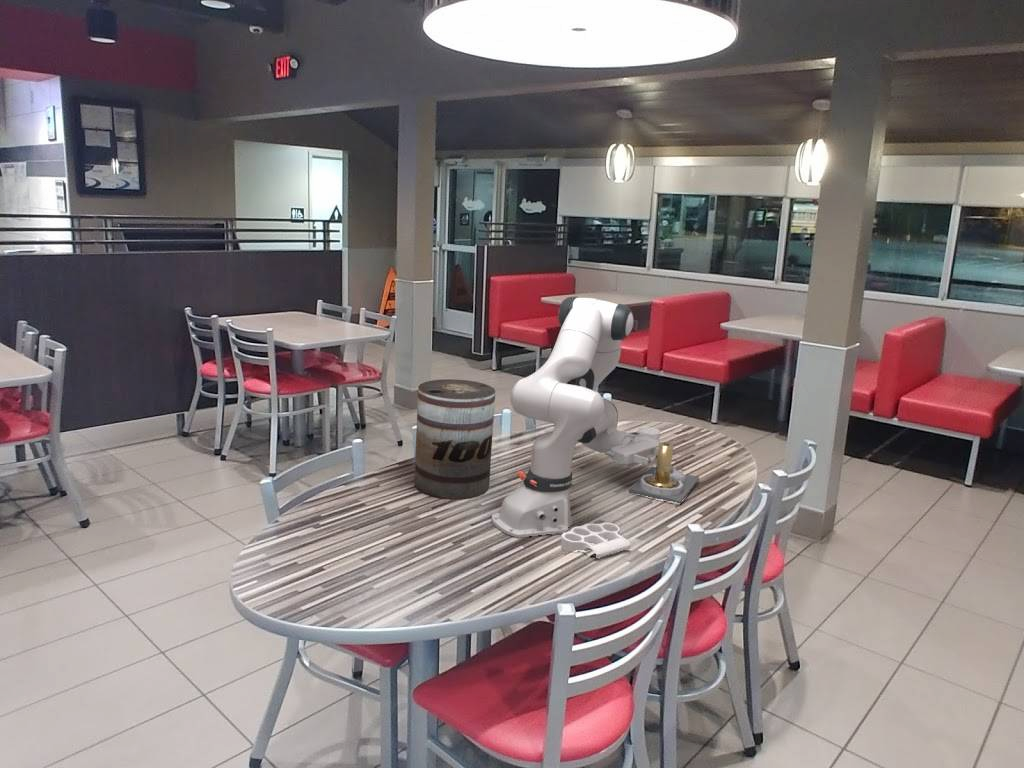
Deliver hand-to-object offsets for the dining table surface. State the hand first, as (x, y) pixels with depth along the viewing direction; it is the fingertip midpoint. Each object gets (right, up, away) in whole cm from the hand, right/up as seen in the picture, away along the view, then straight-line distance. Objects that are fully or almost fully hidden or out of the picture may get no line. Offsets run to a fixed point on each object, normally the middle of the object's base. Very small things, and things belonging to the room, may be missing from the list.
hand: (657, 458), depth 233 cm
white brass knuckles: (-24, -19, -38) cm, 48 cm away
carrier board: (+3, -10, +5) cm, 11 cm away
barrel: (-63, -8, -6) cm, 64 cm away
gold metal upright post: (+1, -9, +1) cm, 9 cm away
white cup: (+2, -3, +32) cm, 32 cm away
